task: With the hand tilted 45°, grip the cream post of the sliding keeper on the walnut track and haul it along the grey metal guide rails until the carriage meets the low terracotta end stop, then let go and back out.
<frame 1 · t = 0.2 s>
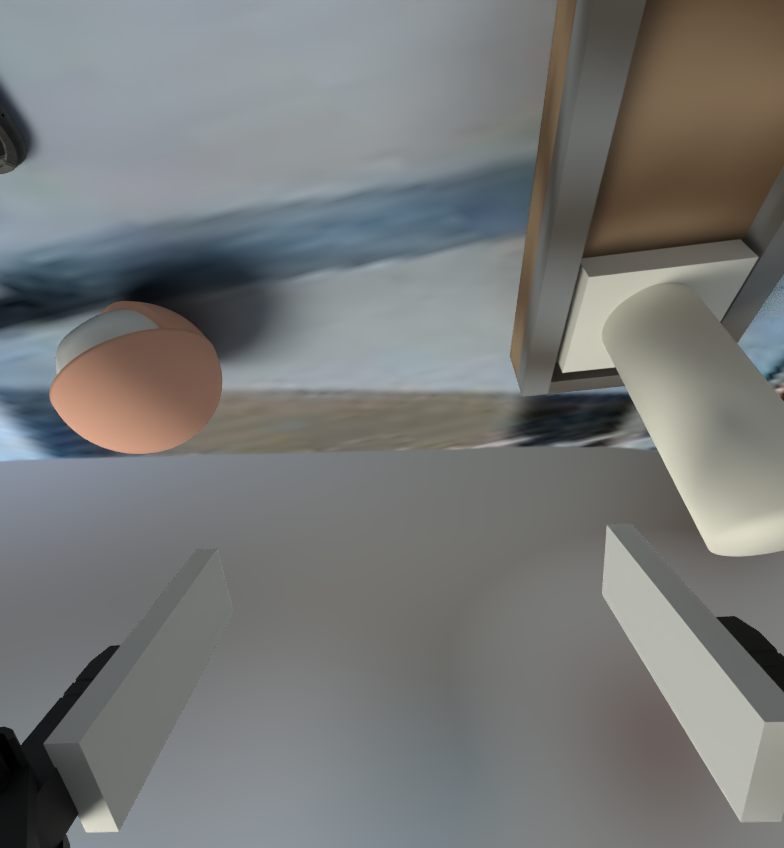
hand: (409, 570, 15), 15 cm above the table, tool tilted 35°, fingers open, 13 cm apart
keeper: (694, 393, 18), point 9 cm above the table, slide at 6.0 cm
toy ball: (166, 328, 26), on the table
track: (661, 157, 19), on the table
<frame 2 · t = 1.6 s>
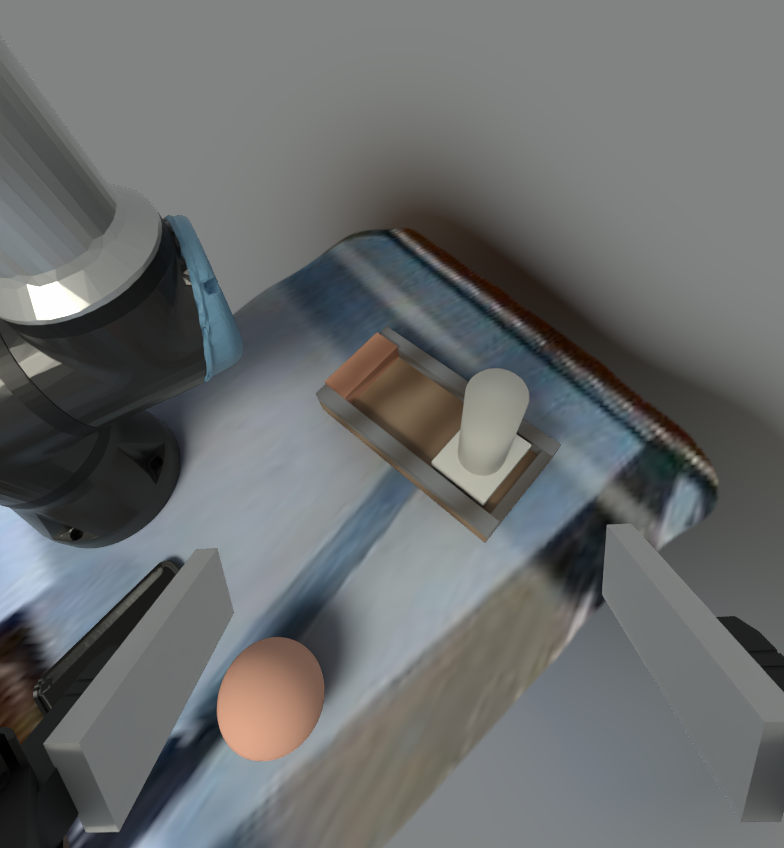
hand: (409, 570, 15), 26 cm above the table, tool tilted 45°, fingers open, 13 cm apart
phone: (132, 651, 40), on the table
keeper: (487, 432, 36), point 9 cm above the table, slide at 6.0 cm
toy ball: (289, 688, 37), on the table
track: (431, 432, 46), on the table
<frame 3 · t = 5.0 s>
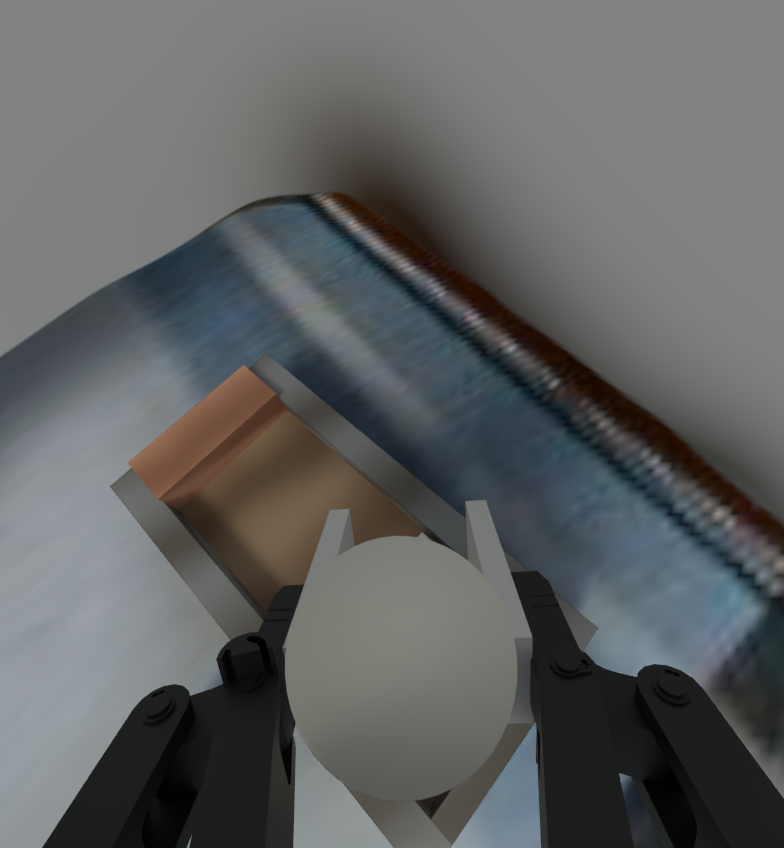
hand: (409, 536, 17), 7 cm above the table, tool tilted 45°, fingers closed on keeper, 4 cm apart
keeper: (414, 647, 14), point 9 cm above the table, slide at 6.0 cm, touching gripper
track: (339, 560, 24), on the table
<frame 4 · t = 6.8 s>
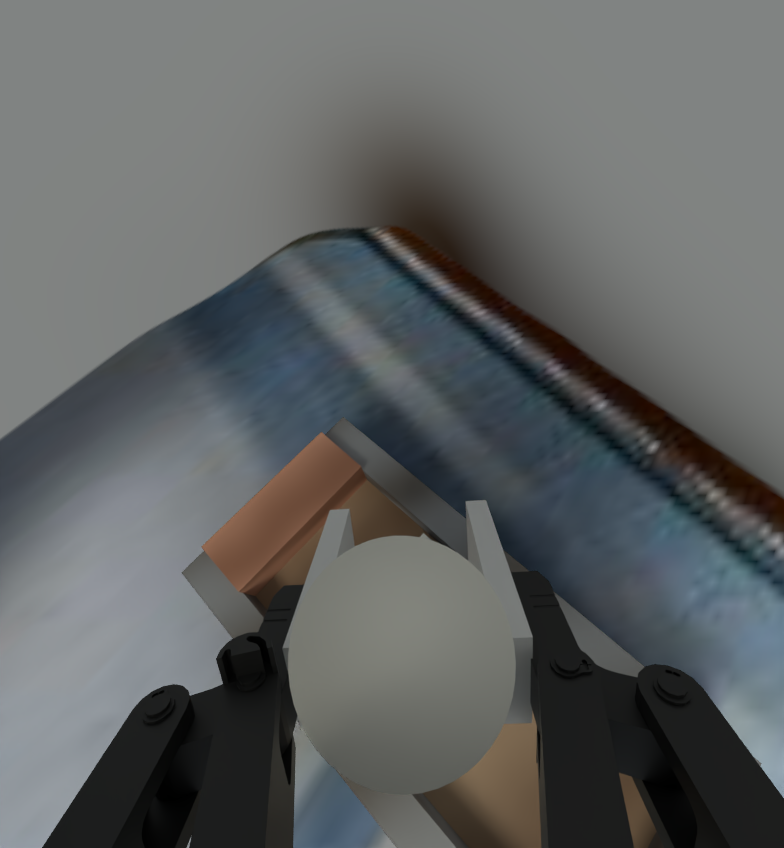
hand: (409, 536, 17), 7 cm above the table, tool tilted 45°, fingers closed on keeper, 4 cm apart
keeper: (415, 646, 14), point 9 cm above the table, slide at -0.5 cm, touching gripper
track: (431, 652, 21), on the table
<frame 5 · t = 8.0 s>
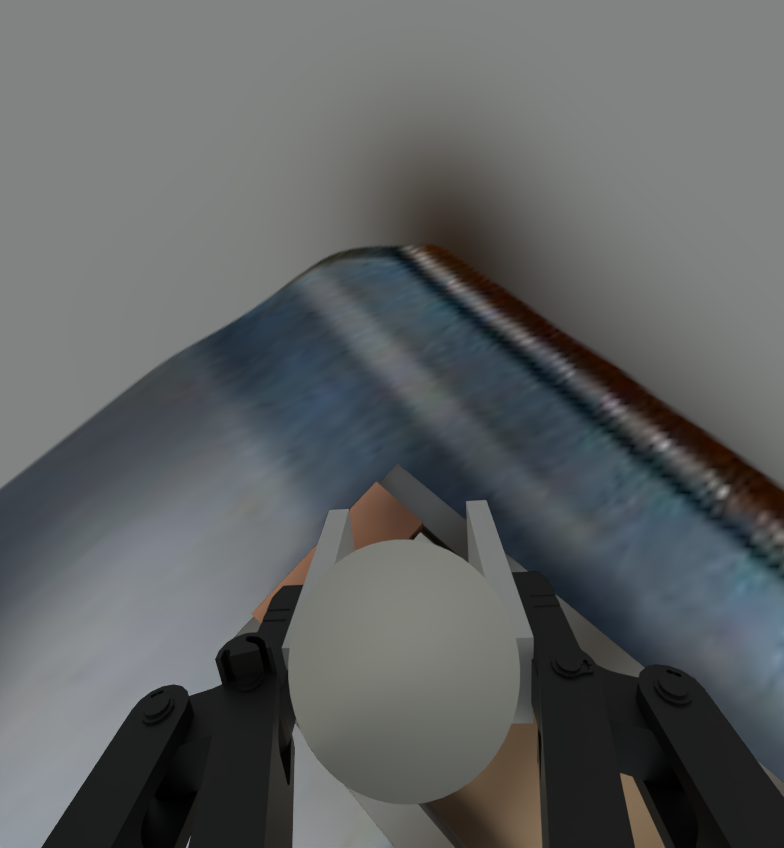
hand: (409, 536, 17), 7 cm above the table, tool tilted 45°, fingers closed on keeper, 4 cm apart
keeper: (414, 648, 14), point 9 cm above the table, slide at -4.8 cm, touching gripper
track: (500, 723, 20), on the table
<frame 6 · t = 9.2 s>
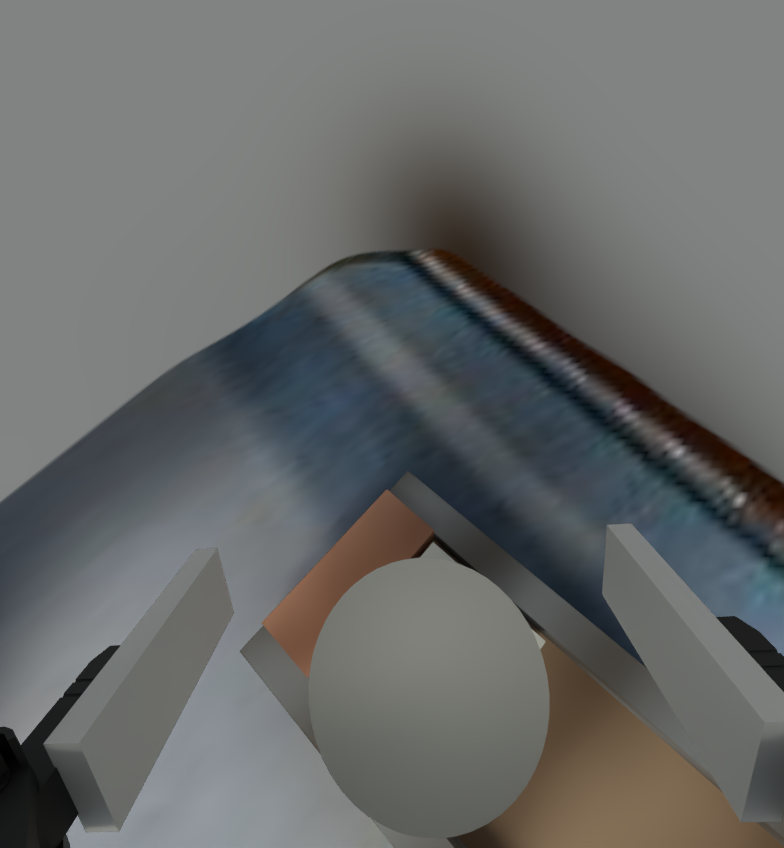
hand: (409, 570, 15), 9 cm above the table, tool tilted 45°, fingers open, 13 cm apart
keeper: (430, 663, 14), point 9 cm above the table, slide at -4.7 cm
track: (513, 736, 19), on the table
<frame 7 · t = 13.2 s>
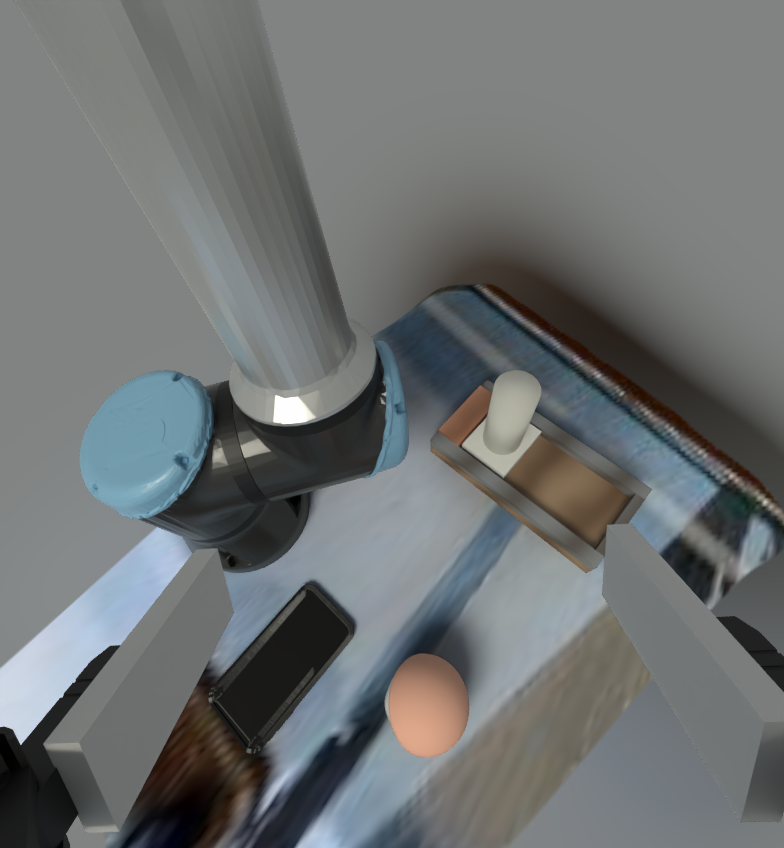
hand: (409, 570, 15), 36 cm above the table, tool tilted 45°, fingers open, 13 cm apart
phone: (286, 662, 46), on the table
keeper: (507, 419, 47), point 9 cm above the table, slide at -4.7 cm
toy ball: (427, 697, 44), on the table
track: (529, 473, 53), on the table
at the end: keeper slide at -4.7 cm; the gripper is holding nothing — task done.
